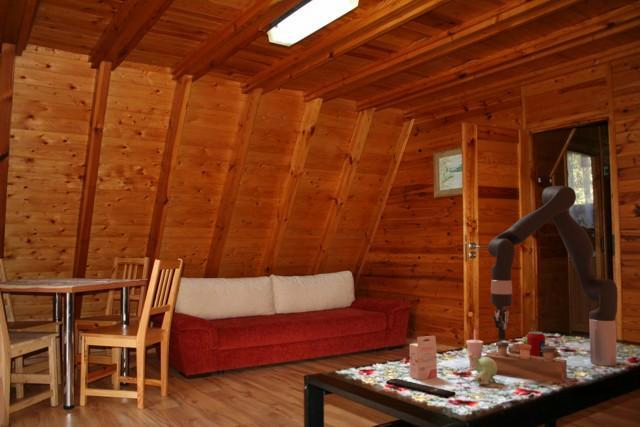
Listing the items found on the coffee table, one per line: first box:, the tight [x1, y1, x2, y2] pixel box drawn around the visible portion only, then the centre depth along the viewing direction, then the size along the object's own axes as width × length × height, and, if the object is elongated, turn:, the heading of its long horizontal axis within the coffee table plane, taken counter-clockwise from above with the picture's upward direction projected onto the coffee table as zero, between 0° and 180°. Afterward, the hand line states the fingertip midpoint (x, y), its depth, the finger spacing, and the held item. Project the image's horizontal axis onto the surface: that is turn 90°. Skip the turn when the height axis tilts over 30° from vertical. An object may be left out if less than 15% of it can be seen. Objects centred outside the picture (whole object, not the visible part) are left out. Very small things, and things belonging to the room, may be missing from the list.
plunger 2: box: [541, 346, 556, 362], centre depth 189 cm, size 4×4×7 cm
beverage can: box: [526, 330, 546, 357], centre depth 212 cm, size 7×7×12 cm
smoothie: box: [465, 329, 484, 368], centre depth 206 cm, size 6×6×14 cm
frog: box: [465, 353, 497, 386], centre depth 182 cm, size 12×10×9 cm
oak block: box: [484, 350, 568, 384], centre depth 193 cm, size 10×26×6 cm, turn 56°
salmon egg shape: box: [518, 343, 531, 359], centre depth 193 cm, size 4×4×7 cm
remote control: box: [385, 378, 456, 399], centre depth 174 cm, size 5×24×1 cm, turn 44°
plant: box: [507, 326, 559, 358], centre depth 232 cm, size 20×20×11 cm
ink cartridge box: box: [409, 335, 438, 381], centre depth 190 cm, size 9×5×15 cm, turn 117°
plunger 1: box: [495, 341, 510, 357], centre depth 198 cm, size 4×4×7 cm
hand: (502, 339), depth 198 cm, fingers closed
